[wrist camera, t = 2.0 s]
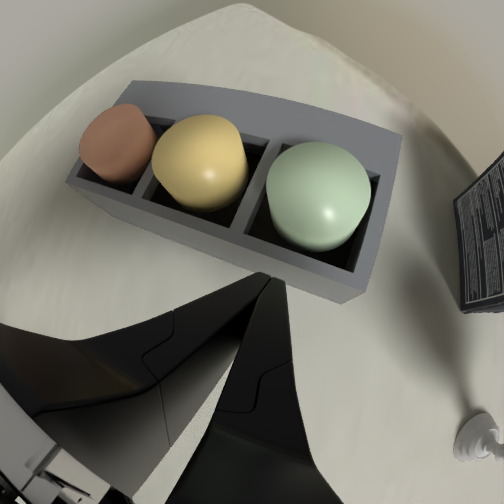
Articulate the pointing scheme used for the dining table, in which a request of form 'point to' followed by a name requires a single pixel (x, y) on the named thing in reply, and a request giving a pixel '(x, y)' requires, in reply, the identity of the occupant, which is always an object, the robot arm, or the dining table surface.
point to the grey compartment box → (254, 181)
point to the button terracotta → (118, 144)
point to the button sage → (317, 195)
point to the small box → (482, 241)
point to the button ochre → (201, 163)
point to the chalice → (478, 439)
